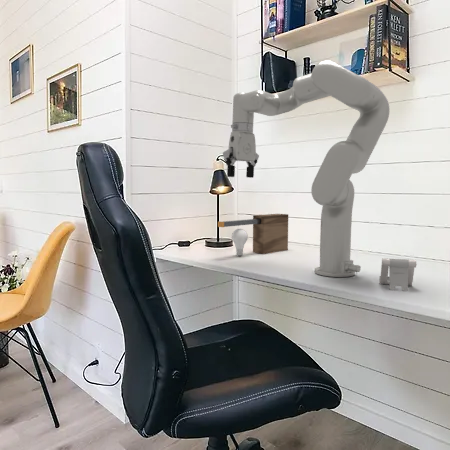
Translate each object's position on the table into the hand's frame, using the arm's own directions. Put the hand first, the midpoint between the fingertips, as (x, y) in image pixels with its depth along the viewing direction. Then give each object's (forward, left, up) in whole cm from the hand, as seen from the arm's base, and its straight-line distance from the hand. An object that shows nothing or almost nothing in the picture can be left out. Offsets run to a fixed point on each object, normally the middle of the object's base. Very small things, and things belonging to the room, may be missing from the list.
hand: (240, 177), depth 155 cm
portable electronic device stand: (-57, -5, -32) cm, 65 cm away
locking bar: (+9, -11, -19) cm, 23 cm away
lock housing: (+9, -28, -31) cm, 43 cm away
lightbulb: (+9, -9, -31) cm, 34 cm away
